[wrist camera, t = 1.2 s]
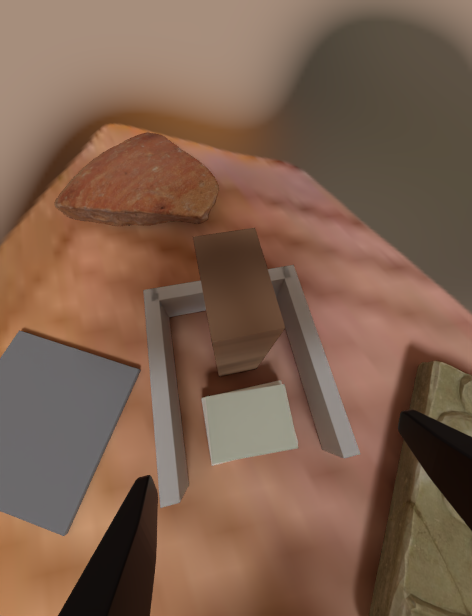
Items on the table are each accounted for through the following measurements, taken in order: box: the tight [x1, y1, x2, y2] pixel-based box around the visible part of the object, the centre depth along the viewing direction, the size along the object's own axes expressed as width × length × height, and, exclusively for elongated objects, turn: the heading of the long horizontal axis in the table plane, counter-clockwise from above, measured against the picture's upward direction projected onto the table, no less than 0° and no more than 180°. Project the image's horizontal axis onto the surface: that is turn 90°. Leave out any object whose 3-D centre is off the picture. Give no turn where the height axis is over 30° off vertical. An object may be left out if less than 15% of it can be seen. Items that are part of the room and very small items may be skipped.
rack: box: [143, 265, 360, 508], centre depth 21 cm, size 15×13×4 cm
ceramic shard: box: [55, 132, 219, 226], centre depth 28 cm, size 15×6×15 cm
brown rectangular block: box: [193, 228, 285, 377], centre depth 18 cm, size 6×4×12 cm, turn 12°
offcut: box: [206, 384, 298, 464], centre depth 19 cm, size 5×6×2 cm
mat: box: [0, 331, 141, 536], centre depth 20 cm, size 12×12×1 cm
